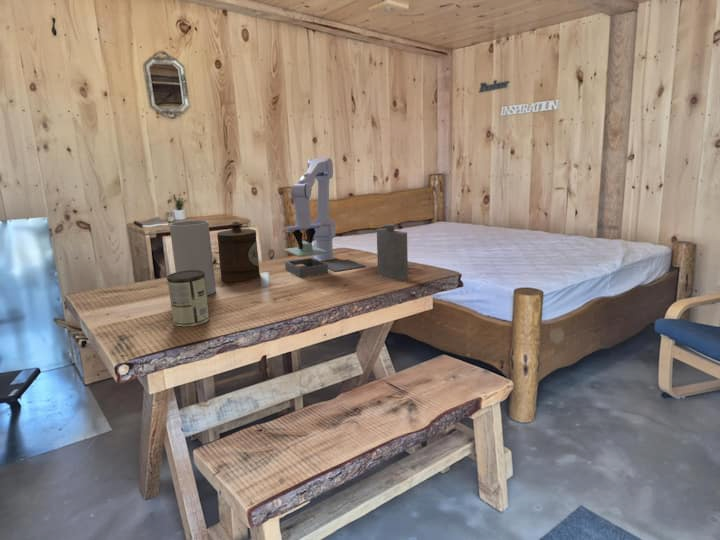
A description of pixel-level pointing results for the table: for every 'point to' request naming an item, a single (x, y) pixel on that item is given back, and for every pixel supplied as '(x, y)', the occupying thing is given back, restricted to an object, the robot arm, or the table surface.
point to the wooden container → (238, 254)
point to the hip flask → (392, 253)
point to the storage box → (306, 267)
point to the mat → (343, 265)
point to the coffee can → (188, 298)
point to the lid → (305, 250)
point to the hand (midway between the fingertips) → (305, 248)
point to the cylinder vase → (193, 249)
